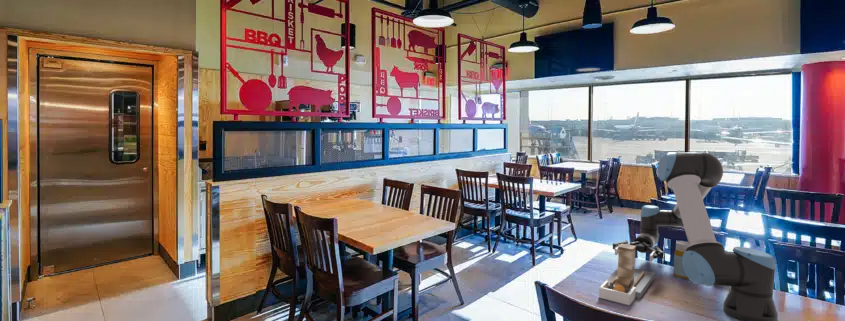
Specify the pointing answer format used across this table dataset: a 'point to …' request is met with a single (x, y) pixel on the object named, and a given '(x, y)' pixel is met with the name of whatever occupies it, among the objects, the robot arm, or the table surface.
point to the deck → (640, 287)
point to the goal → (616, 295)
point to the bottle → (680, 259)
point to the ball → (619, 288)
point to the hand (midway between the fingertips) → (632, 255)
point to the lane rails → (633, 283)
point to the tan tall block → (625, 265)
